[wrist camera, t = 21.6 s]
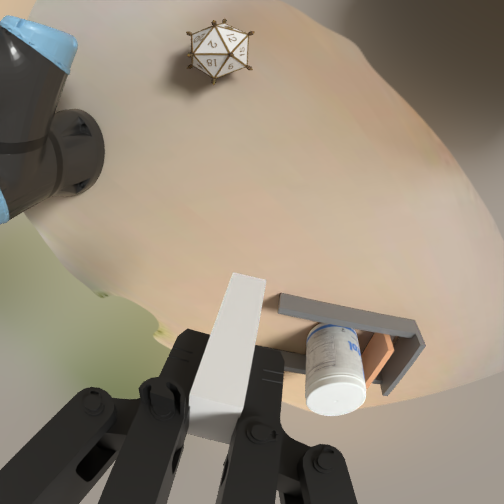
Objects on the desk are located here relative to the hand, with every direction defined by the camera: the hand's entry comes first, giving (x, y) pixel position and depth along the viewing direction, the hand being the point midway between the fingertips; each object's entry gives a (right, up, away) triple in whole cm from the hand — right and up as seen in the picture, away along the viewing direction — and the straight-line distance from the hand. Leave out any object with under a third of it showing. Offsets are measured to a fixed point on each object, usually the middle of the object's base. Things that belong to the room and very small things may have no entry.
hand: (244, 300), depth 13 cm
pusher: (+24, -16, +37) cm, 47 cm away
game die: (-3, +29, +19) cm, 35 cm away
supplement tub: (+15, -13, +38) cm, 43 cm away
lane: (+16, -14, +38) cm, 43 cm away
